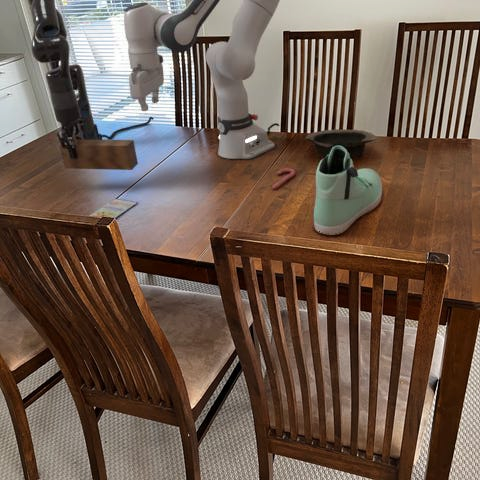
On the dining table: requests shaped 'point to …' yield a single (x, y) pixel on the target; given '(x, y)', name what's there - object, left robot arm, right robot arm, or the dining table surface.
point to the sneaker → (343, 192)
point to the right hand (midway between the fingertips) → (150, 106)
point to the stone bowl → (340, 141)
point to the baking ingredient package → (113, 208)
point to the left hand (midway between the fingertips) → (78, 155)
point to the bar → (101, 155)
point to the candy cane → (284, 177)
